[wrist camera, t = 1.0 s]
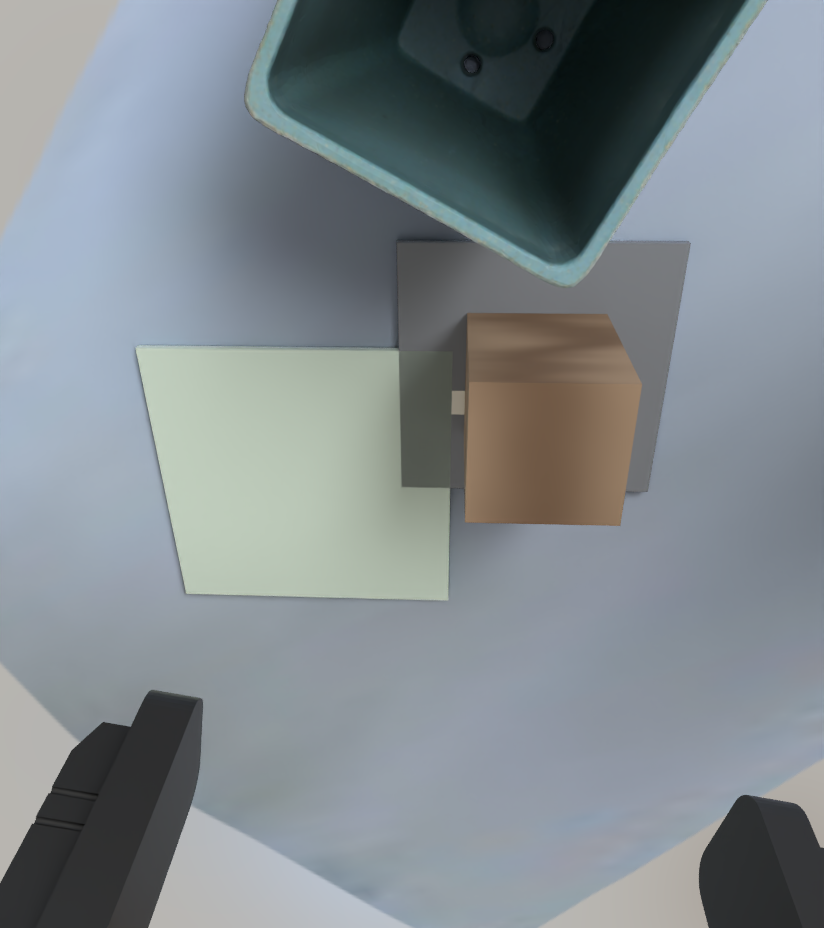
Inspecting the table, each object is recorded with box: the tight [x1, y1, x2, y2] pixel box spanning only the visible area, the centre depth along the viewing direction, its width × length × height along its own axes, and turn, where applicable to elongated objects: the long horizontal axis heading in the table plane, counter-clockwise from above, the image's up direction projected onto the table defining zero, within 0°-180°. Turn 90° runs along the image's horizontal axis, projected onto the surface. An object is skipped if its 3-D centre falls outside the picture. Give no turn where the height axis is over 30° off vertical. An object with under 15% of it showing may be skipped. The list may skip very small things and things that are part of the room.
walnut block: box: [464, 313, 642, 526], centre depth 26 cm, size 5×5×6 cm
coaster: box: [136, 345, 453, 601], centre depth 32 cm, size 12×12×1 cm
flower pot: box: [244, 0, 768, 288], centre depth 19 cm, size 9×9×9 cm
